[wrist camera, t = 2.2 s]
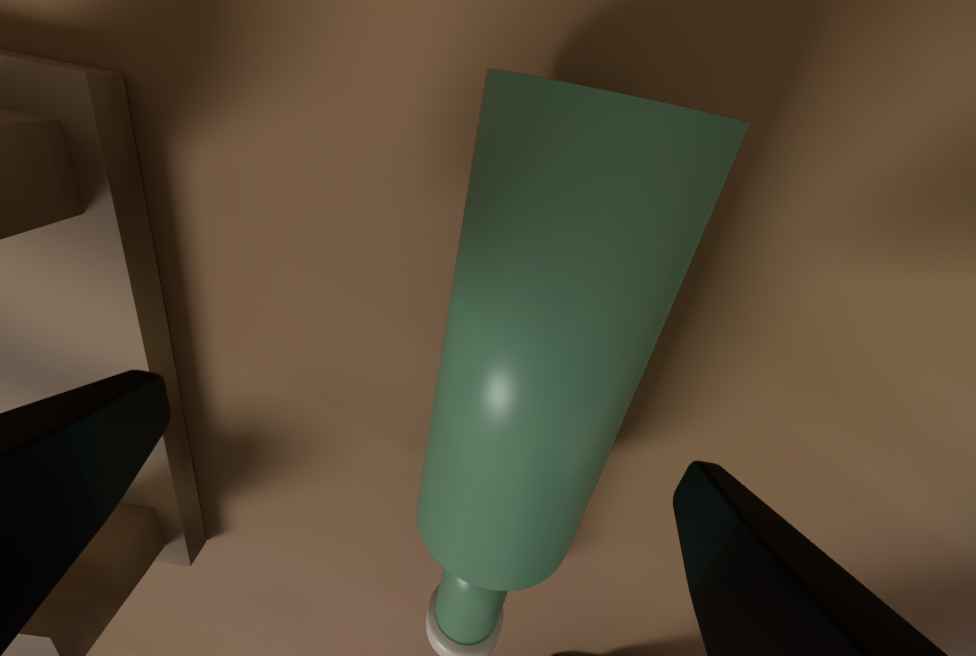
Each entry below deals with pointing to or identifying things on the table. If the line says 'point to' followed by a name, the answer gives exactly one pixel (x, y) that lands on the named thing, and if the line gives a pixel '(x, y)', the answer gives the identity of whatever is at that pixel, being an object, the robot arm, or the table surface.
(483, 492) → the bottle
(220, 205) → the table surface
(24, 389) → the cradle
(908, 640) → the robot arm
